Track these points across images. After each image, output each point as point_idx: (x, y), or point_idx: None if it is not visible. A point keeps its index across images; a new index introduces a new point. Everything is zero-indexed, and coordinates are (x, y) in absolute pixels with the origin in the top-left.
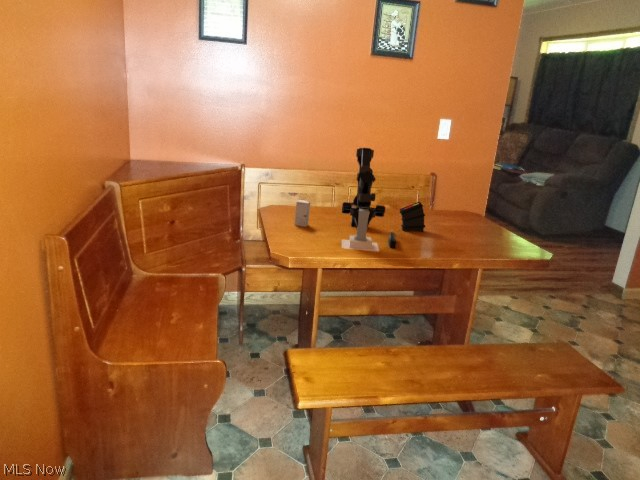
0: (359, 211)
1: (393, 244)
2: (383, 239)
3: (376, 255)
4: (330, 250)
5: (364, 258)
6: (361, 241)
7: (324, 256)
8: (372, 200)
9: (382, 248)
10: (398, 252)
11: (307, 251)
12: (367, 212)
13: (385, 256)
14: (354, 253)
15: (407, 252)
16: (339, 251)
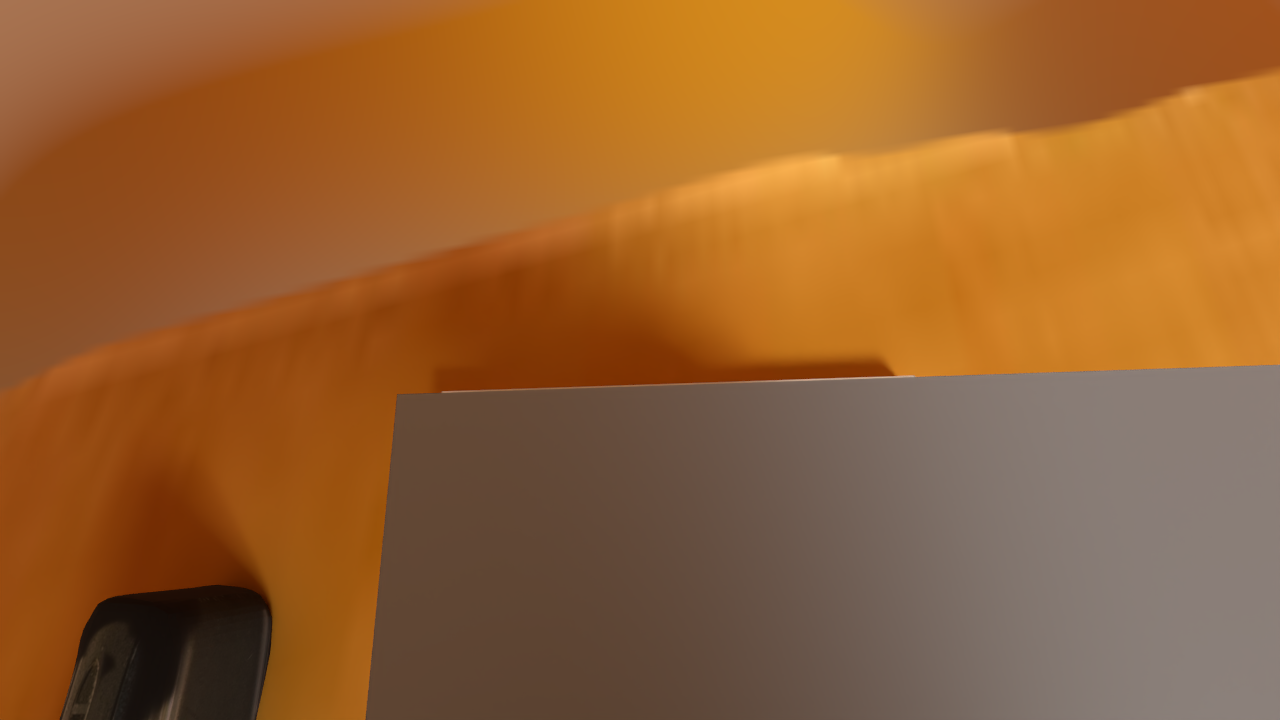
0: (1225, 383)
1: (172, 595)
2: None
3: (486, 338)
4: (1028, 343)
5: (627, 212)
6: None
7: (1041, 150)
8: None
9: (368, 634)
10: (183, 530)
11: (1264, 235)
12: (536, 417)
13: (385, 337)
14: (740, 328)
15: (57, 568)
16: (919, 341)
